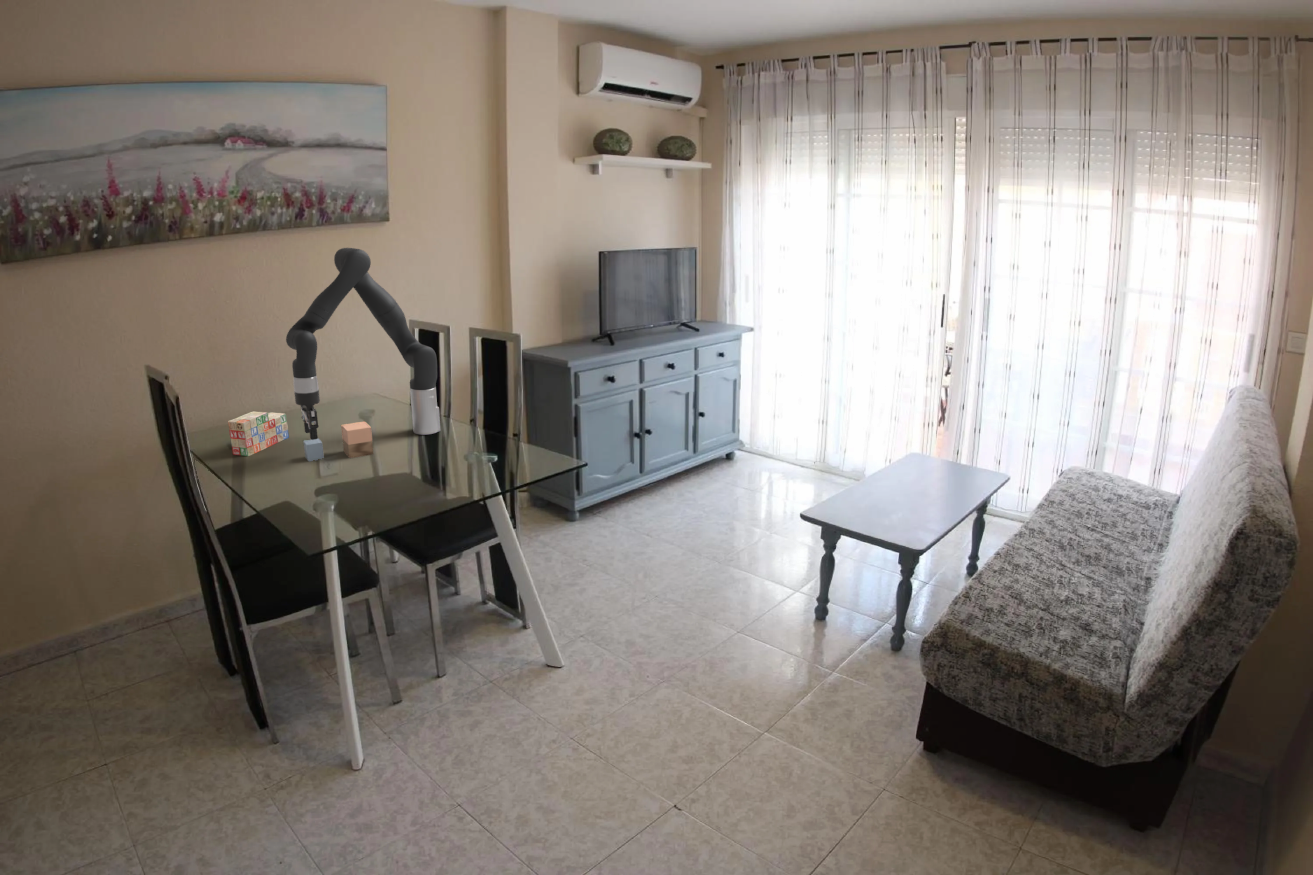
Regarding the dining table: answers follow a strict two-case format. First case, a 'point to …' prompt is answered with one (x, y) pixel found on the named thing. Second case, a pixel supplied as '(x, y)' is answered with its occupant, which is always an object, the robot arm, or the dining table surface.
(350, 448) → the tower base
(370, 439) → the tower top
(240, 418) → the stack of blocks
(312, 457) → the slate block
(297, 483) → the dining table surface
